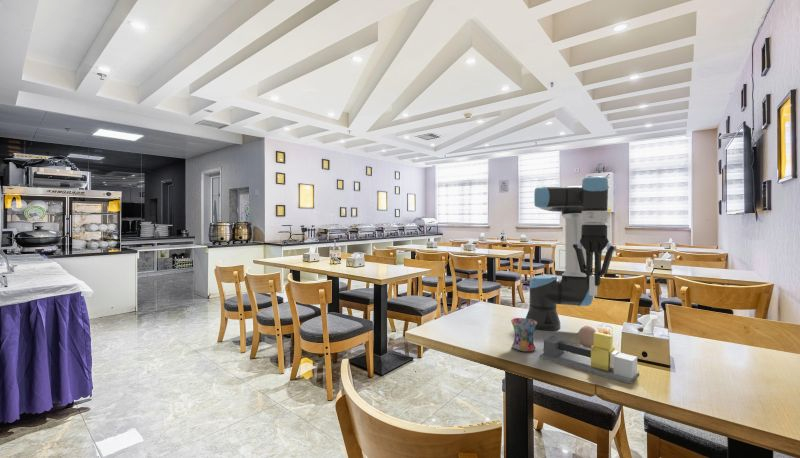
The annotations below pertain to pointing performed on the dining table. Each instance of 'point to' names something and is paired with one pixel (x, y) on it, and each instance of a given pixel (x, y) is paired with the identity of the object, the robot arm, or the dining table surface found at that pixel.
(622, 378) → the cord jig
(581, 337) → the egg
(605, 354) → the yellow block
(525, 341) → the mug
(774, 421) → the dining table surface
